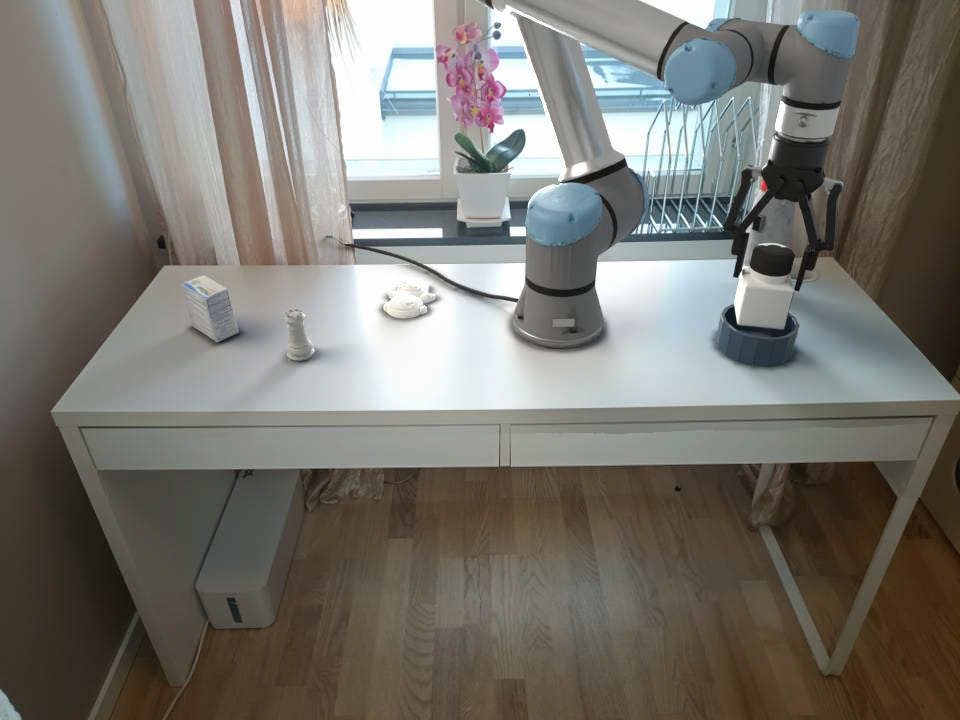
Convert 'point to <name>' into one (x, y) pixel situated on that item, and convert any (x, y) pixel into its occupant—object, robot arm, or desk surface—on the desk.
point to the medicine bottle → (765, 287)
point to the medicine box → (210, 308)
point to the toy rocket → (770, 224)
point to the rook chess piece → (298, 337)
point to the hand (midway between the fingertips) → (767, 280)
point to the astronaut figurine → (408, 300)
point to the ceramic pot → (755, 341)
